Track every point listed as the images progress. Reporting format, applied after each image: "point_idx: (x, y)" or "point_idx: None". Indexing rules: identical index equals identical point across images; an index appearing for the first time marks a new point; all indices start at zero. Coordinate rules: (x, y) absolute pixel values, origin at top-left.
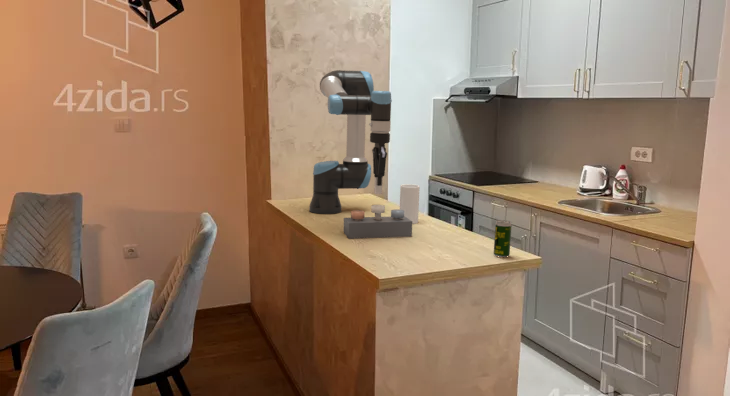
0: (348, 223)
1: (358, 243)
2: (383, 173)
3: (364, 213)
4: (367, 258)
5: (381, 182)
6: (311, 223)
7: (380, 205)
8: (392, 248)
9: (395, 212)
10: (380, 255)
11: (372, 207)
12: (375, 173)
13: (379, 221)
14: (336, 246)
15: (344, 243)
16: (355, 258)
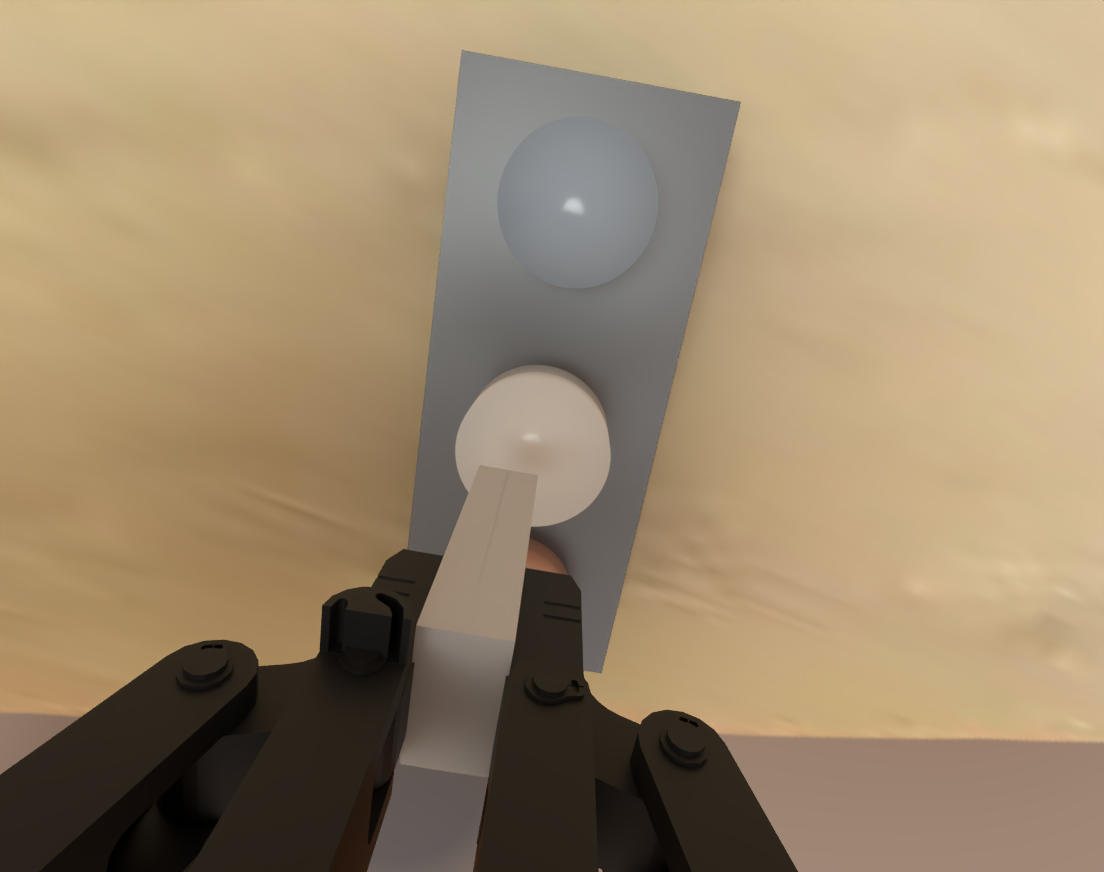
0: (586, 666)
1: (732, 591)
2: (739, 815)
3: (540, 565)
4: (1060, 670)
5: (580, 616)
6: (125, 659)
7: (515, 419)
8: (950, 448)
9: (629, 265)
10: (1050, 585)
11: (546, 520)
12: (378, 823)
13: (624, 431)
14: (743, 720)
15: (697, 661)
16: (1021, 722)
